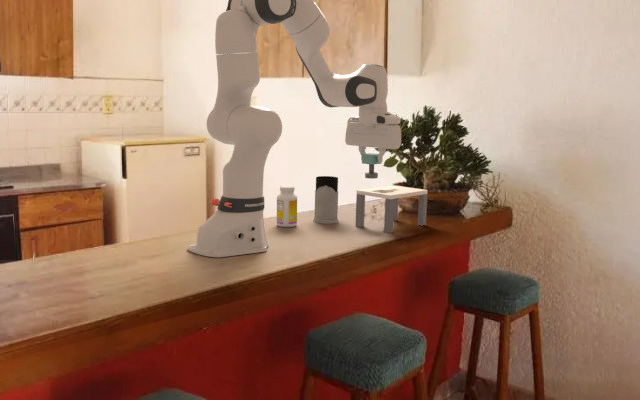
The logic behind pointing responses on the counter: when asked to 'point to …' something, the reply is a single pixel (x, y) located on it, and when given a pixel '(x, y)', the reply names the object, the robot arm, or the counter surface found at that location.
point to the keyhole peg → (370, 164)
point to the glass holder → (326, 200)
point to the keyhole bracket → (391, 204)
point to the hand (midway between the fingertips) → (371, 161)
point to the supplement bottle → (287, 207)
